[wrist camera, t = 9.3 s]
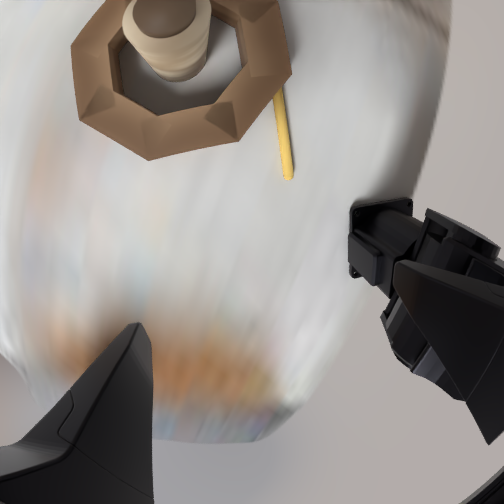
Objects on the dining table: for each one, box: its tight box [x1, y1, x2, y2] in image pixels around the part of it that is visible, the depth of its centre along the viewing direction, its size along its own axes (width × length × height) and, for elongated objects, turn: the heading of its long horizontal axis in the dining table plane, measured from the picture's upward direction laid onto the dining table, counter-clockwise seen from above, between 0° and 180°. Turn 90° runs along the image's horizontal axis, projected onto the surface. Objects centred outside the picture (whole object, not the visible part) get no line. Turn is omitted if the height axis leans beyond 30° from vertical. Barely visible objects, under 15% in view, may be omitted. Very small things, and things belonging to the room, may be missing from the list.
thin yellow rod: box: [273, 87, 294, 180], centre depth 17 cm, size 1×8×1 cm, turn 8°
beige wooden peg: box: [122, 0, 211, 82], centre depth 11 cm, size 4×4×9 cm
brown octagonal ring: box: [71, 0, 292, 161], centre depth 13 cm, size 13×13×2 cm
